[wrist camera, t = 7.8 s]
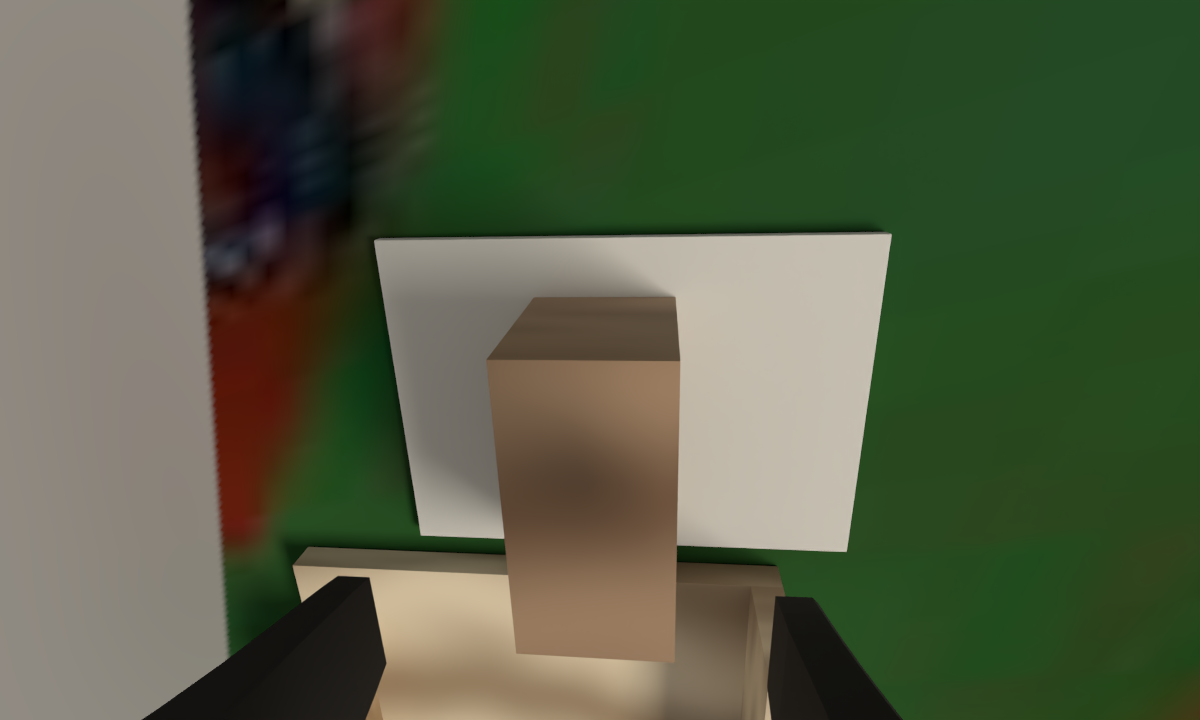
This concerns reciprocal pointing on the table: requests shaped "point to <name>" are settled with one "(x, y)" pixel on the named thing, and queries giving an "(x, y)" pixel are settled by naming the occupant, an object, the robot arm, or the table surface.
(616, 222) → the table surface
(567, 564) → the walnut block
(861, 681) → the robot arm
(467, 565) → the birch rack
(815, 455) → the grey mat
